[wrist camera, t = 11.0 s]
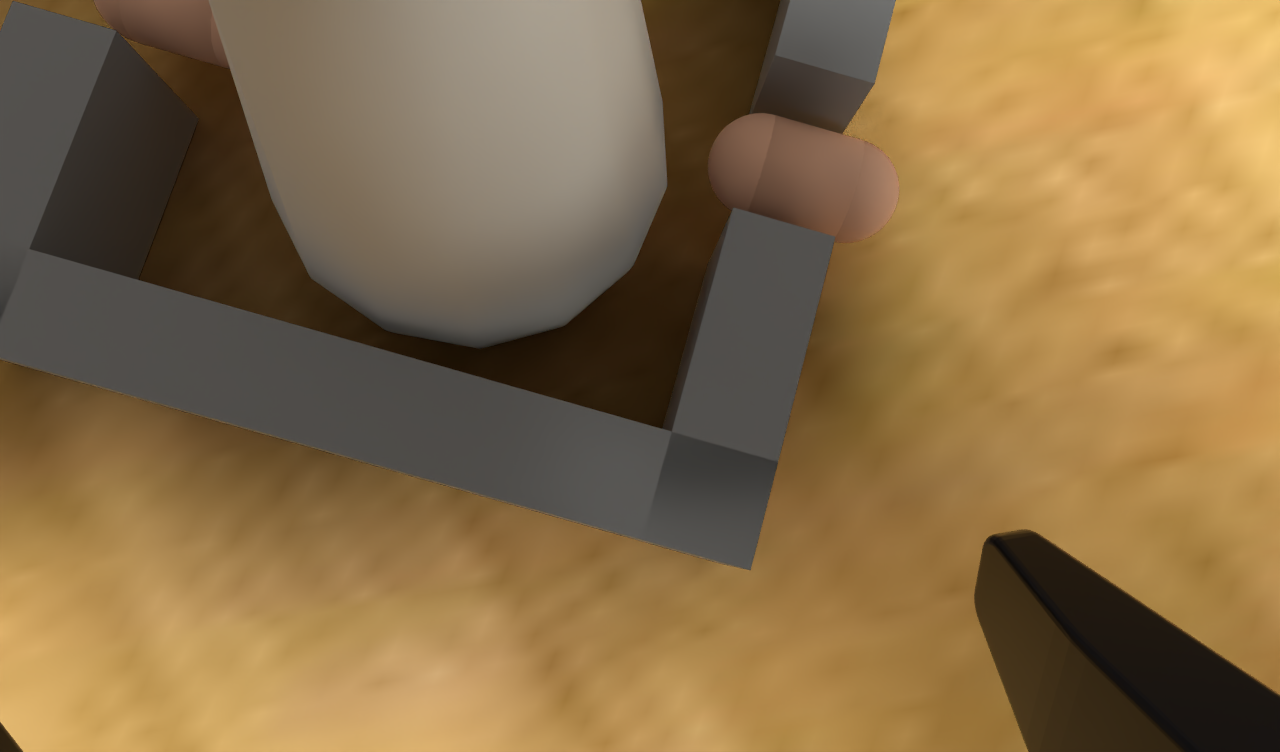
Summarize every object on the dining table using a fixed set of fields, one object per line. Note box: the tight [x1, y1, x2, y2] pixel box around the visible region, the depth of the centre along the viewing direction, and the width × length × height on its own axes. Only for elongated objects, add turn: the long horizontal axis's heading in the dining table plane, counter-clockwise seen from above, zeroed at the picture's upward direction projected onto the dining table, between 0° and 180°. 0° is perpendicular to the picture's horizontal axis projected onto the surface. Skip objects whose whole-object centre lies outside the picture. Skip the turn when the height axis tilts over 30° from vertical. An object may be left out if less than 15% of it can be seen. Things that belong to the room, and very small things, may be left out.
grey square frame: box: [0, 0, 896, 570], centre depth 16 cm, size 12×12×3 cm
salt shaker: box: [209, 0, 667, 349], centre depth 10 cm, size 6×6×13 cm
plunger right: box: [708, 113, 899, 243], centre depth 15 cm, size 2×3×2 cm, turn 74°
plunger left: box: [94, 0, 230, 69], centre depth 15 cm, size 2×3×2 cm, turn 74°
